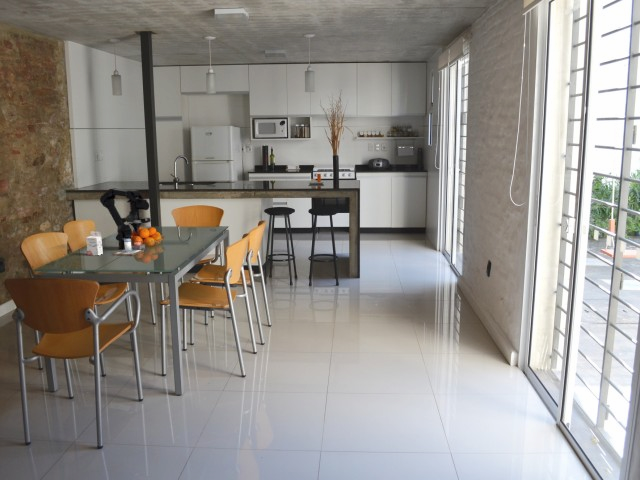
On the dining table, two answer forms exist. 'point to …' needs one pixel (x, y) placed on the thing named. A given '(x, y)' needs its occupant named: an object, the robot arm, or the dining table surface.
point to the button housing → (138, 247)
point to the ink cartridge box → (94, 244)
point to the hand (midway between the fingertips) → (136, 233)
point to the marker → (127, 245)
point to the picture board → (128, 253)
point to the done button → (137, 243)
